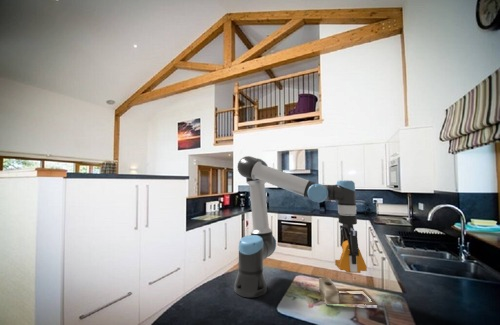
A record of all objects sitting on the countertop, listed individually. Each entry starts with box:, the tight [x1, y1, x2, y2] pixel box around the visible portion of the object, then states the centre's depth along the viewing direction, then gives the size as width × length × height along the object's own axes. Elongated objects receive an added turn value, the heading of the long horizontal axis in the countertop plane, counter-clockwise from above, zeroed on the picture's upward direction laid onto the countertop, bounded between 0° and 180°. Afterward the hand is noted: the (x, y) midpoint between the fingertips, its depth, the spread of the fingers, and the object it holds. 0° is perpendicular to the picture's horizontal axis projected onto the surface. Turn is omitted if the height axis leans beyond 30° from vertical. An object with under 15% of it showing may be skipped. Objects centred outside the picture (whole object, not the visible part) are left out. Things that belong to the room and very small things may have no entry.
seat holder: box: [318, 277, 379, 306], centre depth 89 cm, size 20×12×6 cm, turn 85°
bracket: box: [334, 240, 368, 274], centre depth 91 cm, size 11×7×12 cm, turn 86°
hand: (349, 267), depth 90 cm, fingers closed on bracket, 7 cm apart
